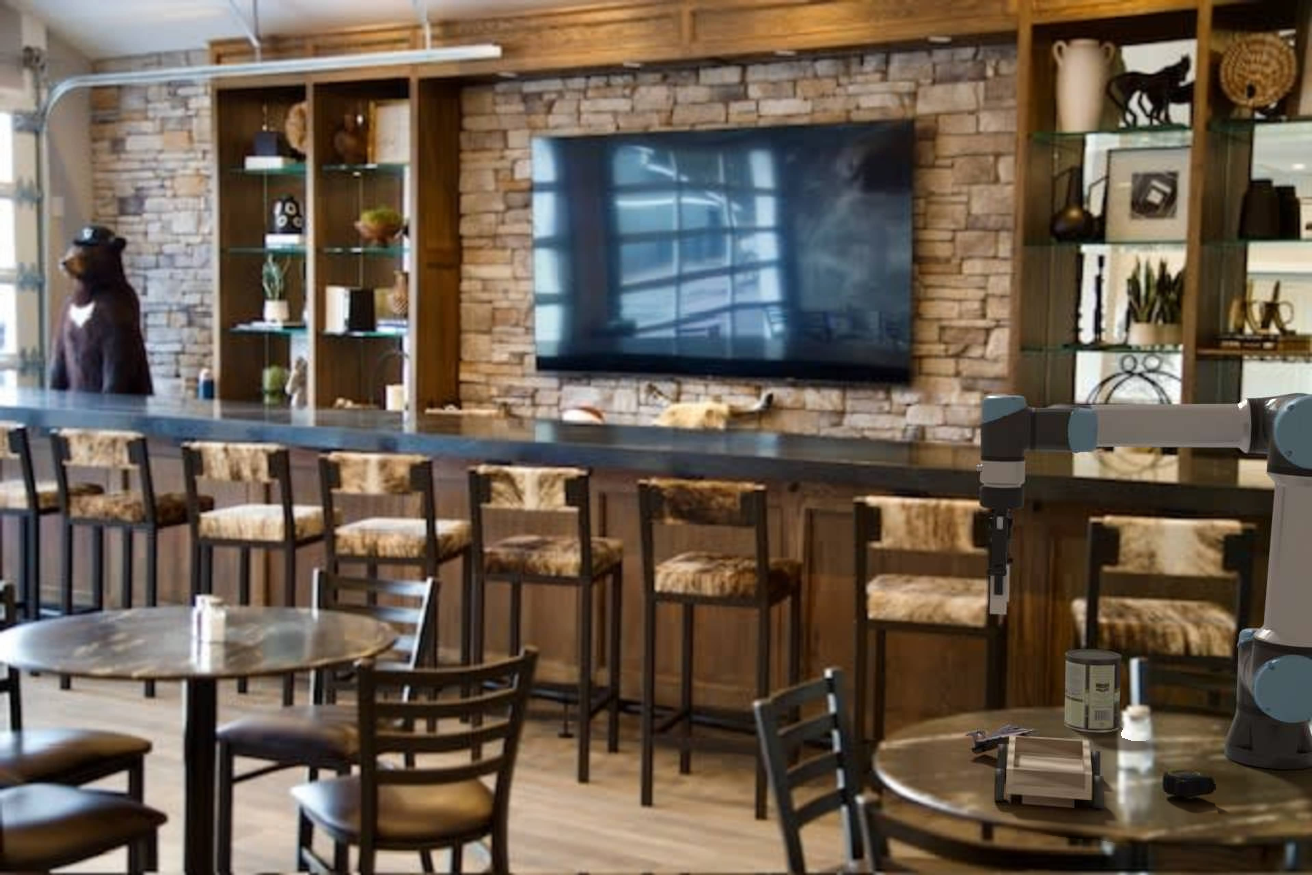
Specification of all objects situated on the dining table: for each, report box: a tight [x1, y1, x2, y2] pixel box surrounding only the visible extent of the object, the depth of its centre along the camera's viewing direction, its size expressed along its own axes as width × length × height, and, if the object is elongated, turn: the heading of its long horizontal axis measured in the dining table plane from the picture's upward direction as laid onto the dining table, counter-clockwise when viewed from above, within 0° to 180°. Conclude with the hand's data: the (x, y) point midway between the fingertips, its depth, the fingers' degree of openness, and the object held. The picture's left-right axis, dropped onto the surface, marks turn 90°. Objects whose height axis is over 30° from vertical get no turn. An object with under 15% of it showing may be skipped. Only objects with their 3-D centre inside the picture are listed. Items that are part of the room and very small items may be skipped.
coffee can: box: [1064, 648, 1123, 733], centre depth 307 cm, size 10×10×14 cm
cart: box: [993, 735, 1105, 810], centre depth 264 cm, size 22×17×6 cm
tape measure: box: [1162, 769, 1217, 799], centre depth 260 cm, size 7×7×4 cm
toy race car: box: [964, 724, 1040, 755], centre depth 282 cm, size 13×6×4 cm, turn 42°
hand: (999, 607), depth 281 cm, fingers open, 13 cm apart
